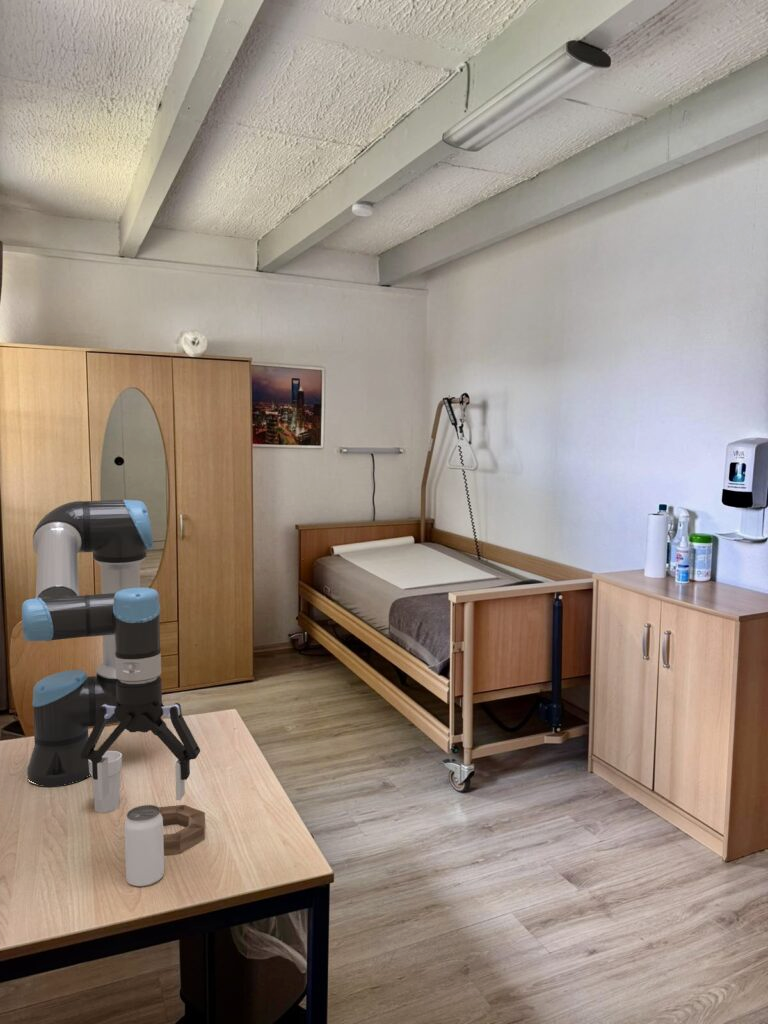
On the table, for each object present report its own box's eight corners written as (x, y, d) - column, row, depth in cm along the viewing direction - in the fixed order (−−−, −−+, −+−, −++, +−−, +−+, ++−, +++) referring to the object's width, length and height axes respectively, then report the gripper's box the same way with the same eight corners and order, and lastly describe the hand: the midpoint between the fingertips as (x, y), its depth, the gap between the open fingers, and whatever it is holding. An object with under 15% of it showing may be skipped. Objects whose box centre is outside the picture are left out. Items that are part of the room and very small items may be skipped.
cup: (129, 806, 157) (127, 756, 156) (99, 817, 152) (97, 766, 151) (114, 796, 161) (112, 748, 160) (84, 807, 157) (82, 757, 156)
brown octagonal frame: (112, 841, 143) (111, 828, 143) (170, 810, 155) (170, 799, 155) (162, 863, 135) (162, 850, 135) (220, 830, 147) (219, 818, 147)
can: (131, 868, 134) (129, 804, 133) (167, 866, 134) (166, 803, 133) (121, 888, 127) (119, 822, 126) (159, 887, 128) (158, 820, 127)
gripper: (57, 684, 124) (61, 806, 126) (204, 684, 124) (207, 806, 125) (76, 671, 132) (80, 786, 133) (215, 671, 131) (217, 787, 133)
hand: (142, 796), depth 129 cm, fingers open, 13 cm apart
